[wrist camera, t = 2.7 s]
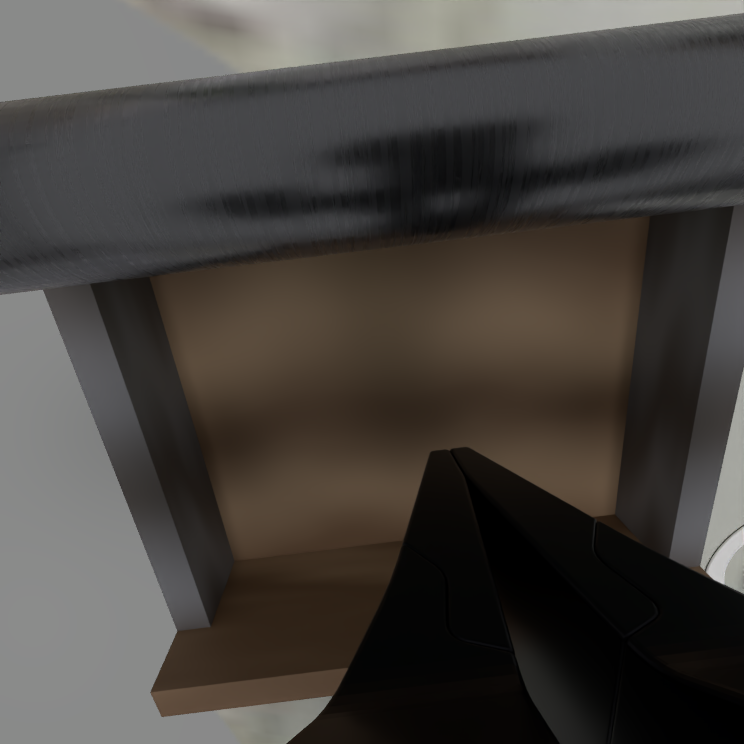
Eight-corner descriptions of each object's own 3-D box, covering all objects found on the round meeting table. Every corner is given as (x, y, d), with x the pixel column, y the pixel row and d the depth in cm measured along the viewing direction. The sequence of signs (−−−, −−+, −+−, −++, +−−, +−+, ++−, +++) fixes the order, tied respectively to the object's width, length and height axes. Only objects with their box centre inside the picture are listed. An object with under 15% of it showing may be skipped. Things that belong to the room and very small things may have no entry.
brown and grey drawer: (611, 503, 19) (744, 644, 13) (227, 550, 19) (161, 716, 13) (644, 205, 15) (881, 184, 8) (141, 266, 15) (-33, 294, 8)
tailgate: (672, 200, 13) (1564, 109, 3) (124, 266, 13) (-529, 362, 3) (680, 144, 12) (1772, -151, 3) (107, 213, 12) (-730, 151, 3)
